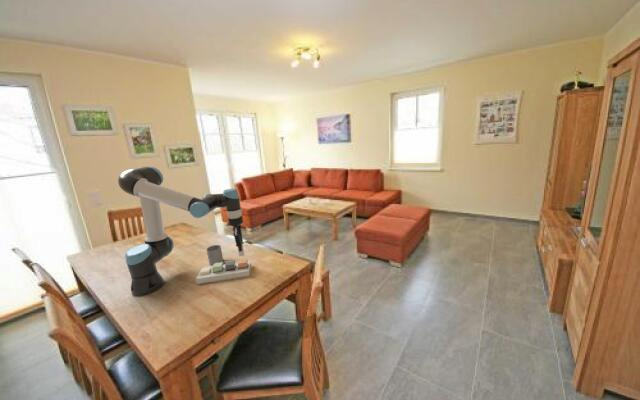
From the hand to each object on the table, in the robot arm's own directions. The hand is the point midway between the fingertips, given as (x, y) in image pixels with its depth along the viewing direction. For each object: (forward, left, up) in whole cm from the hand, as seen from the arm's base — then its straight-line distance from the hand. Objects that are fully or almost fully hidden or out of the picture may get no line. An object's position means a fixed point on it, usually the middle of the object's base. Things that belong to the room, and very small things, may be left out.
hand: (241, 255), depth 144 cm
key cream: (-21, 0, -10) cm, 23 cm away
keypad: (-11, 0, -11) cm, 15 cm away
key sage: (-14, 0, -8) cm, 16 cm away
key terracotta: (0, 0, -8) cm, 8 cm away
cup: (-20, +18, -11) cm, 29 cm away
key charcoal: (-7, 0, -8) cm, 11 cm away
